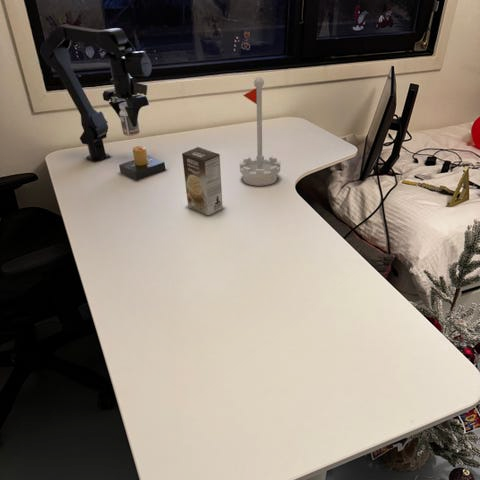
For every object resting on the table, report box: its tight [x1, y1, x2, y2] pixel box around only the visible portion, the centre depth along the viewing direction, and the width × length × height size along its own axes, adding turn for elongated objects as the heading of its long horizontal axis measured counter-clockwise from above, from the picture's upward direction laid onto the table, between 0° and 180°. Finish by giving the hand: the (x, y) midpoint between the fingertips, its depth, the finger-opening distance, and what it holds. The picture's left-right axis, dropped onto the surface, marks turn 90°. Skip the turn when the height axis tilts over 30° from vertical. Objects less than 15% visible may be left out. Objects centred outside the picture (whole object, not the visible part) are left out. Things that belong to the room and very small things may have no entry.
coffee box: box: [181, 146, 224, 216], centre depth 130 cm, size 9×6×16 cm
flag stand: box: [239, 76, 281, 187], centre depth 141 cm, size 13×13×30 cm
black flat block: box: [118, 155, 166, 181], centre depth 159 cm, size 10×12×3 cm
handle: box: [132, 145, 148, 166], centre depth 156 cm, size 4×4×5 cm
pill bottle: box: [119, 102, 140, 137], centre depth 158 cm, size 6×6×10 cm
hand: (129, 125), depth 159 cm, fingers closed on pill bottle, 6 cm apart
